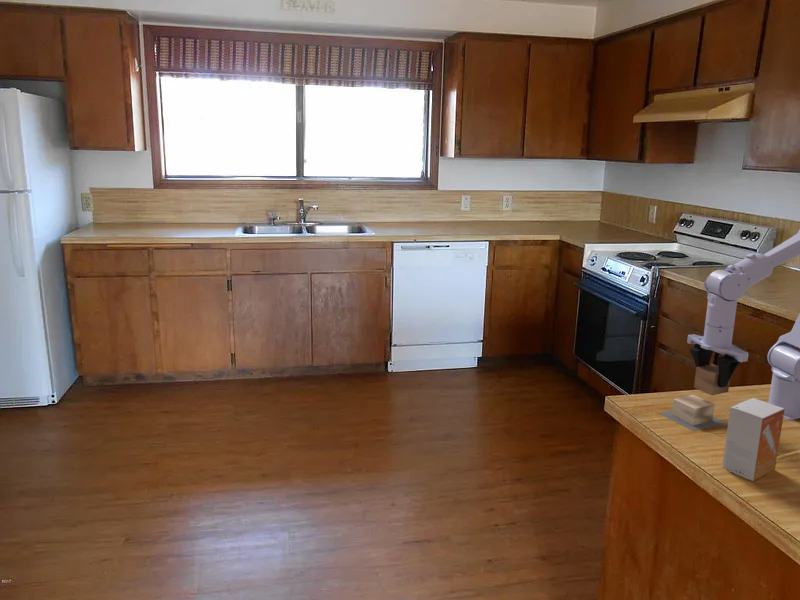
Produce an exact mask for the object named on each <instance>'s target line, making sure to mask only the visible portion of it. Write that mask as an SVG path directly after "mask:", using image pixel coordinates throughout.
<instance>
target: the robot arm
mask: <svg viewBox="0 0 800 600" xmlns="http://www.w3.org/2000/svg"><path fill="white" fill-rule="evenodd" d="M799 256H800V229H799V230H798V232H797V233H796V234H794V235H793V236H791V237H789V238H788V239H786V240H784V241H783V242H781V243H780V244H779V245H776V246H775V247H773V248H771V249H770V250H769V251H767V252H765V253H764V254H763V253H761V252H754V253H752V252H750V253H748V254H746V255H745V258H743V259H741V260H739V261H738V262H736V263H734V264H729V265H727V267H726V268H725V269H716V270H714V271H712V272H711V273H710V274H709V275H708V276H707V277H706V280H705V281H704V282H703V286H704V290H705V292H706V293H707V297H706V299H707V305H706V306H707V307H706V315H705V320H704V321H705V322H704V332H703V336H702V335H698V334H695V333H693V334H688V335H687V341H686V342H687V344H689V345H694V346H693V347H690V349H689V353H690V354H691V356H692V358H693V360H694V364H695V368H696V367H700V366H705V365H710V363H711V359H712V356H713V354H714V352H715V353H717V354H720V355H723V356H720V357H716V362H717V366H718V369H719V375H718V387H726V386H727V385H728V382H729V380H730V381H731V378H732V376H733V374H734V373H735V371H736V369H737V368H738V367H739V366H740V364H741V363H743V362H744V363H745V362H749V361H748V359H749V352H747V351H746V350H743V349H741V348H739V347H737V346H736V345H735V344H732V343H733V334H734V327H735V321H736V320H735V319H736V313H737V305H738V300H739V299H741V298H742V297H743V296H744V294H745V293H746V290H748V289H749V288H750V287H751V286H753V285H755V284H757V283H759V282H760V281H763V280H764V279H766V278H768V277H770V276H771V275H772V274H773V271H774V268H775V267H777V266H780V265H782V264H783V263H786V262H789V261H790V260H792V259H795V258H797V257H799ZM798 348H799V349H798ZM766 360H767V362H768V364H769V365H770V366H771V372H772V376H771V377H772V378H771V382H770V390H769V397H768V403H770V404H773V405H775V406H778V407H781V408H784V409H785V410H784V416H783V419H786V420H788V421H789V420H790V421H793V420H798V419H800V313H798V316H797V318H796V320H795V322H794V324H793V327H792V329H791V330H790V331H789V332H787V333H785V334H782V335H780V336H779V337H778V340H777V341H776V343H775V344H774V345H772V347H770V349H769V350H768V353H767V359H766Z"/></svg>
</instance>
